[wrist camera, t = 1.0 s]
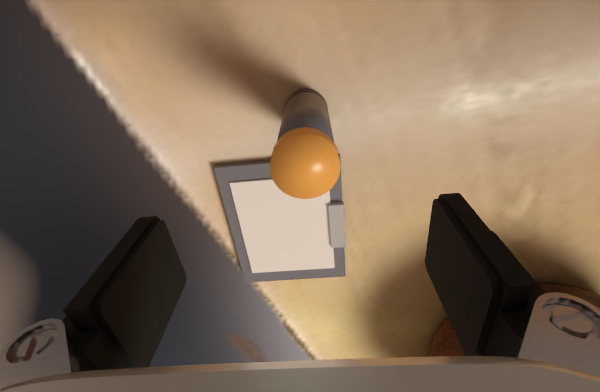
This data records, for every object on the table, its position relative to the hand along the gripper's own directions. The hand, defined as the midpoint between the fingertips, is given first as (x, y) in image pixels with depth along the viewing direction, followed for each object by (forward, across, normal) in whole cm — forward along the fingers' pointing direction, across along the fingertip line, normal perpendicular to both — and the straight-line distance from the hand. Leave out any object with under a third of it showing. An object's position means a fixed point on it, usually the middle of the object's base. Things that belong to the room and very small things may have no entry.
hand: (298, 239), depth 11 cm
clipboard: (+16, +3, +11) cm, 20 cm away
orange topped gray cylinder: (+16, 0, 0) cm, 16 cm away
